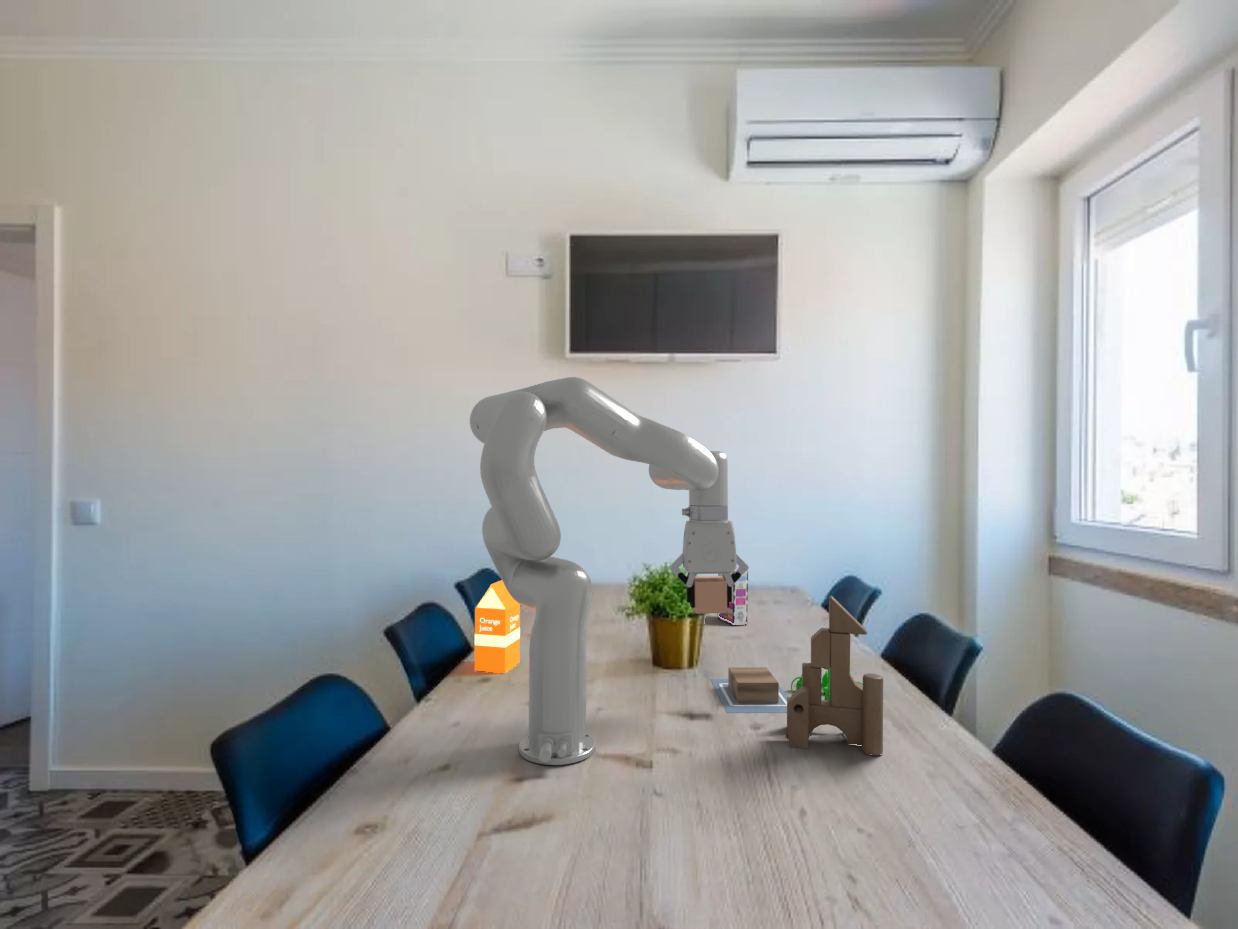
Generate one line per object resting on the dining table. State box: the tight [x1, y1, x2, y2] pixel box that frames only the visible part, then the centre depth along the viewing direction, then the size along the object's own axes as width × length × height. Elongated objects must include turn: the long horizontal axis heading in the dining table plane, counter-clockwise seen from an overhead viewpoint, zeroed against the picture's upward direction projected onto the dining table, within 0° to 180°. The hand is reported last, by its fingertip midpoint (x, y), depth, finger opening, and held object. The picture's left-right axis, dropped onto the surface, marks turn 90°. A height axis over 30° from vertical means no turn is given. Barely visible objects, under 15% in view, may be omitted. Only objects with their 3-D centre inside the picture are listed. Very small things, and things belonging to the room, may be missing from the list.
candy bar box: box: [717, 566, 749, 623], centre depth 205 cm, size 11×5×16 cm, turn 17°
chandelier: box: [790, 668, 863, 701], centre depth 138 cm, size 15×15×7 cm
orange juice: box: [474, 579, 521, 674], centre depth 158 cm, size 8×9×20 cm
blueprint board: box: [710, 678, 789, 714], centre depth 137 cm, size 20×14×1 cm
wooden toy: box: [786, 595, 884, 756], centre depth 116 cm, size 16×7×25 cm, turn 75°
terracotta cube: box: [692, 575, 727, 615], centre depth 132 cm, size 6×6×6 cm
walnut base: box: [727, 667, 780, 703], centre depth 137 cm, size 10×8×4 cm
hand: (709, 605), depth 132 cm, fingers closed on terracotta cube, 6 cm apart
